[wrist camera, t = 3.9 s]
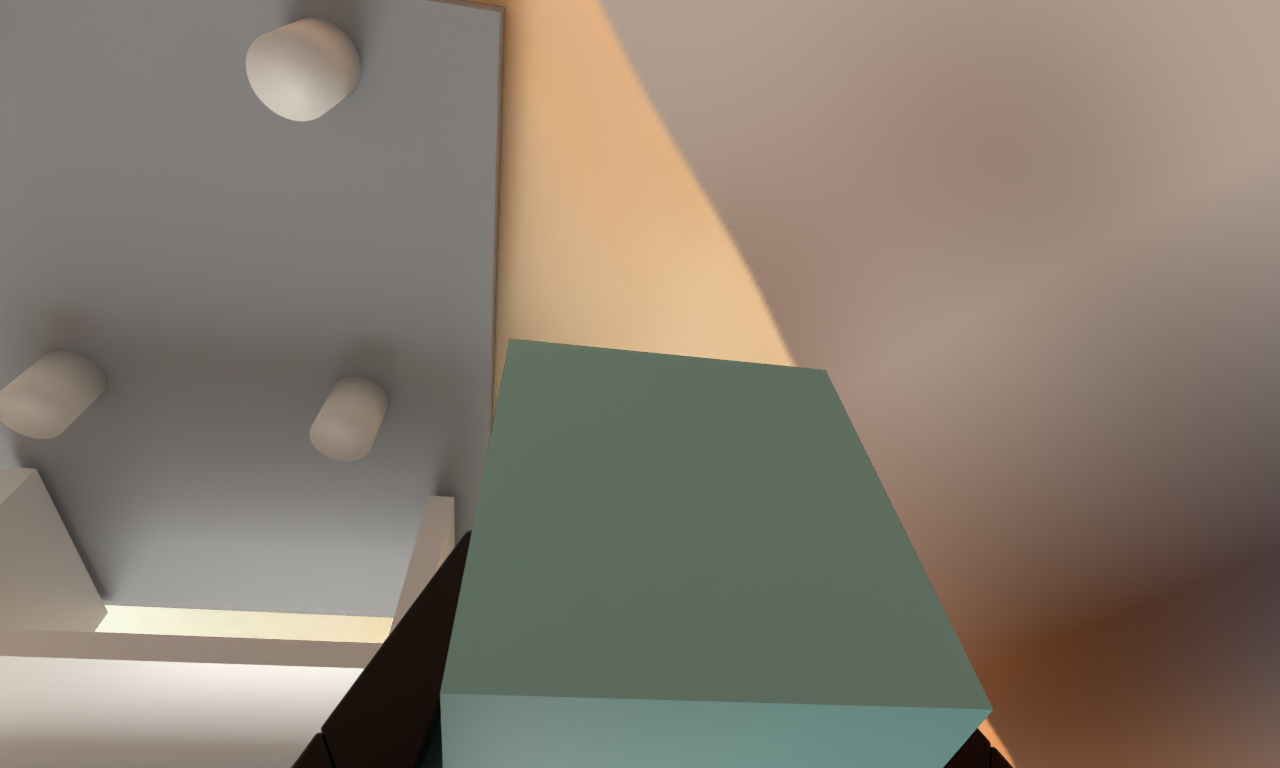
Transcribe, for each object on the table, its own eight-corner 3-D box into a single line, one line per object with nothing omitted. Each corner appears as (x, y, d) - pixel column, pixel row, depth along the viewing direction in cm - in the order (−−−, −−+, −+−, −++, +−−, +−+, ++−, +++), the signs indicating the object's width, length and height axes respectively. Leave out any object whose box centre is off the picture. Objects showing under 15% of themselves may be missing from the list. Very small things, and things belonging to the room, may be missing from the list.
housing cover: (454, 497, 21) (382, 796, 14) (455, 627, 25) (400, 912, 18) (6, 466, 20) (-333, 788, 13) (83, 611, 24) (-141, 918, 17)
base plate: (504, 7, 15) (488, 24, 12) (486, 604, 26) (476, 664, 24) (-302, -124, 13) (-482, -131, 10) (72, 584, 25) (23, 647, 22)
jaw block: (825, 369, 10) (991, 709, 6) (730, 621, 13) (791, 944, 9) (509, 338, 9) (440, 693, 5) (497, 609, 12) (449, 951, 8)
